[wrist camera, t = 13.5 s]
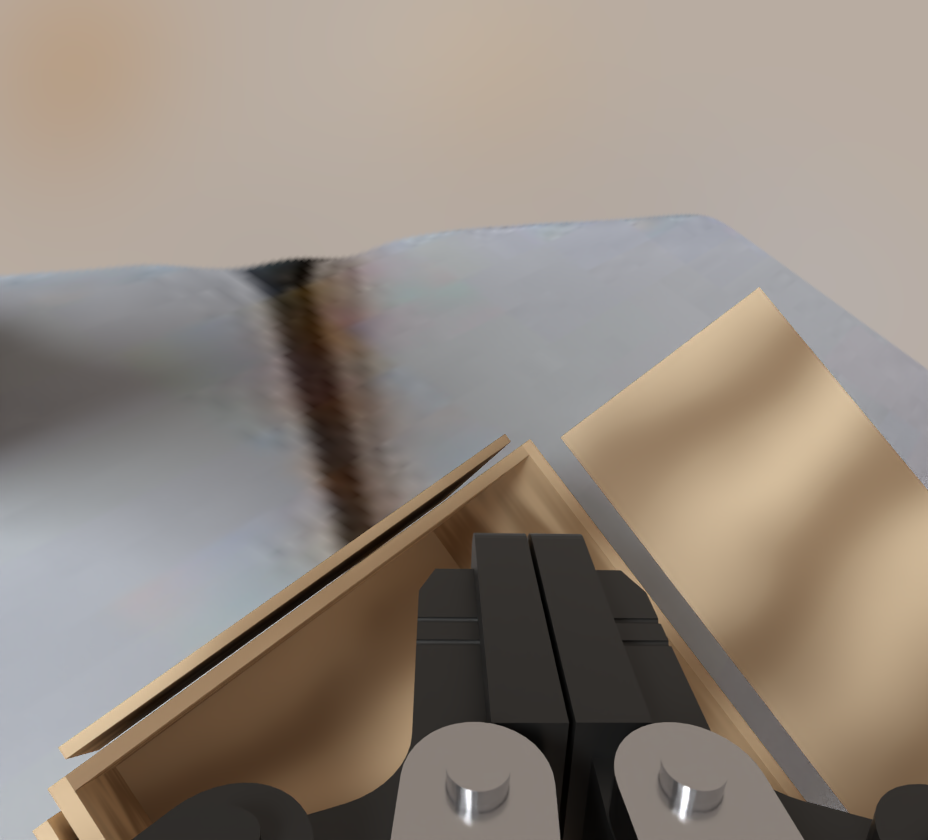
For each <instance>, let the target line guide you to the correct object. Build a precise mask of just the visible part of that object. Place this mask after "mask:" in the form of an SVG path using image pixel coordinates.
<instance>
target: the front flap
mask: <svg viewBox="0 0 928 840" xmlns="http://www.w3.org/2000/svg"><path fill="white" fill-rule="evenodd" d="M561 439H562V440H563V441H564V442H565V444H566V445H567V446H568V448H569V449H570V450H571V452H572V453H573V454H574V456H575V457H576V458H577V459H578V461H579V462H580V463H581V465H582V466H583V467H584V469H585V470H586V471H587V472H588V474H589V475H590V476H591V478H592V479H593V480H594V482H595V483H596V484H597V485H598V487H599V488H600V489H601V491H602V492H603V493H604V495H605V496H606V497H607V498H608V500H609V501H610V502H611V504H612V505H613V506H614V508H615V509H616V510H617V511H618V513H619V514H620V515H621V517H622V518H623V519H624V521H625V522H626V523H627V524H628V526H629V527H630V528H631V530H632V531H633V532H634V534H635V535H636V536H637V537H638V539H639V540H640V541H641V543H642V544H643V545H644V547H645V548H646V549H647V550H648V552H649V553H650V554H651V556H652V557H653V558H654V560H655V561H656V562H657V563H658V565H659V566H660V567H661V569H662V570H663V571H664V573H665V574H666V575H667V577H668V578H669V579H670V580H671V582H672V583H673V584H674V586H675V587H676V588H677V590H678V591H679V592H680V593H681V595H682V596H683V597H684V599H685V600H686V601H687V603H688V604H689V605H690V606H691V608H692V609H693V610H694V612H695V613H696V614H697V616H698V617H699V618H700V619H701V621H702V622H703V623H704V625H705V626H706V627H707V629H708V630H709V631H710V632H711V634H712V635H713V636H714V638H715V639H716V640H717V642H718V643H719V644H720V645H721V647H722V648H723V649H724V651H725V652H726V653H727V655H728V656H729V657H730V658H731V660H732V661H733V662H734V664H735V665H736V666H737V668H738V669H739V670H740V671H741V673H742V674H743V675H744V677H745V678H746V679H747V681H748V682H749V683H750V685H751V686H752V687H753V688H754V690H755V691H756V692H757V694H758V695H759V696H760V698H761V699H762V700H763V701H764V703H765V704H766V705H767V707H768V708H769V709H770V711H771V712H772V713H773V714H774V716H775V717H776V718H777V720H778V721H779V722H780V724H781V725H782V726H783V727H784V729H785V730H786V731H787V733H788V734H789V735H790V737H791V738H792V739H793V740H794V742H795V743H796V744H797V746H798V747H799V748H800V750H801V751H802V752H803V753H804V755H805V756H806V757H807V759H808V760H809V761H810V763H811V764H812V765H813V766H814V768H815V769H816V770H817V772H818V773H819V774H820V776H821V777H822V778H823V779H824V781H825V782H826V783H827V785H828V786H829V787H830V789H831V790H832V791H833V792H834V794H835V795H836V796H837V798H838V799H839V800H840V802H841V803H842V804H843V806H844V807H845V808H846V809H847V811H848V812H849V813H850V814H854V815H858V816H862V817H865V818H869V819H873V816H874V813H875V809H876V806H877V804H878V802H879V800H880V799H881V797H882V796H883V795H884V794H886V793H887V792H888V791H890V790H892V789H894V788H896V787H899V786H903V785H908V784H926V785H928V490H927V489H926V488H925V486H924V485H923V484H922V483H921V482H920V480H919V479H918V478H917V477H916V476H915V474H914V473H913V472H912V471H911V469H910V468H909V467H908V466H907V465H906V463H905V462H904V461H903V460H902V459H901V457H900V456H899V455H898V454H897V453H896V451H895V450H894V449H893V448H892V447H891V445H890V444H889V443H888V442H887V441H886V439H885V438H884V437H883V436H882V435H881V433H880V432H879V431H878V430H877V428H876V427H875V426H874V425H873V424H872V422H871V421H870V420H869V419H868V418H867V416H866V415H865V414H864V413H863V412H862V410H861V409H860V408H859V407H858V406H857V404H856V403H855V402H854V401H853V400H852V398H851V397H850V396H849V395H848V394H847V392H846V391H845V390H844V389H843V387H842V386H841V385H840V384H839V383H838V381H837V380H836V379H835V378H834V377H833V375H832V374H831V373H830V372H829V371H828V369H827V368H826V367H825V366H824V365H823V363H822V362H821V361H820V360H819V359H818V357H817V356H816V355H815V354H814V353H813V351H812V350H811V349H810V348H809V346H808V345H807V344H806V343H805V342H804V340H803V339H802V338H801V337H800V336H799V334H798V333H797V332H796V331H795V330H794V328H793V327H792V326H791V325H790V324H789V322H788V321H787V320H786V319H785V318H784V316H783V315H782V314H781V313H780V312H779V310H778V309H777V308H776V307H775V306H774V304H773V303H772V302H771V301H770V299H769V298H768V297H767V296H766V295H765V293H764V292H763V291H762V290H761V289H760V287H759V288H758V289H756V290H755V291H754V292H752V293H751V294H750V295H748V296H747V297H746V298H744V299H743V300H742V301H740V302H739V303H738V304H736V305H735V306H734V307H732V308H731V309H730V310H728V311H727V312H726V313H724V314H723V315H722V316H721V317H719V318H718V319H717V320H715V321H714V322H713V323H711V324H710V325H709V326H707V327H706V328H705V329H703V330H702V331H701V332H699V333H698V334H697V335H695V336H694V337H693V338H691V339H690V340H689V341H687V342H686V343H685V344H683V345H682V346H681V347H679V348H678V349H677V350H675V351H674V352H673V353H671V354H670V355H669V356H668V357H666V358H665V359H664V360H662V361H661V362H660V363H658V364H657V365H656V366H654V367H653V368H652V369H650V370H649V371H648V372H646V373H645V374H644V375H642V376H641V377H640V378H638V379H637V380H636V381H634V382H633V383H632V384H630V385H629V386H628V387H626V388H625V389H624V390H622V391H621V392H620V393H618V394H617V395H616V396H615V397H613V398H612V399H611V400H609V401H608V402H607V403H605V404H604V405H603V406H601V407H600V408H599V409H597V410H596V411H595V412H593V413H592V414H591V415H589V416H588V417H587V418H585V419H584V420H583V421H581V422H580V423H579V424H577V425H576V426H575V427H573V428H572V429H571V430H569V431H568V432H567V433H565V434H564V435H563V436H562V437H561Z"/></svg>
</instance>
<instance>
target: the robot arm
mask: <svg viewBox="0 0 928 840" xmlns="http://www.w3.org/2000/svg"><path fill="white" fill-rule="evenodd" d="M132 840H928V785H926V784H908V785H903V786H899V787H896V788H894V789H892V790H890V791H888V792H887V793H886V794H884V795H883V796H882V797H881V799H880V800H879V802H878V804H877V806H876V809H875V813H874V816H873V819H869V818H865V817H862V816H858V815H854V814H850V813H847V812H843V811H839V810H835V809H831V808H828V807H824V806H820V805H816V804H813V803H809V802H805V801H802V800H799V799H796V798H793V797H790V796H787V795H785V794H783V793H780V792H778V791H776V790H774V789H773V788H772V786H771V785H770V783H769V782H768V780H767V778H766V777H765V775H764V774H763V772H762V771H761V769H760V768H759V767H758V765H757V764H756V763H755V762H754V761H753V760H752V759H751V757H750V756H749V755H748V754H747V753H745V752H744V751H743V750H742V749H740V748H739V747H738V746H737V745H735V744H734V743H732V742H731V741H729V740H728V739H726V738H724V737H722V736H720V735H718V734H716V733H714V732H712V731H711V730H710V727H709V725H708V723H707V721H706V719H705V717H704V715H703V713H702V710H701V708H700V706H699V704H698V702H697V700H696V698H695V696H694V693H693V691H692V689H691V687H690V685H689V683H688V681H687V678H686V676H685V674H684V672H683V670H682V668H681V666H680V664H679V661H678V659H677V657H676V655H675V653H674V651H673V649H672V646H669V640H668V638H667V636H666V634H665V632H664V629H663V627H662V625H661V624H659V623H658V617H657V615H656V612H655V610H654V608H653V606H652V604H651V602H650V600H649V597H648V595H647V593H646V592H645V591H644V590H643V589H642V588H641V587H639V586H638V585H637V584H636V583H635V582H634V581H632V580H631V579H630V578H629V577H628V576H627V575H626V574H624V573H623V572H622V571H621V570H595V567H594V564H593V562H592V559H591V556H590V554H589V551H588V548H587V546H586V543H585V540H584V538H583V536H582V535H581V534H541V533H529V534H528V536H526V534H525V533H473V538H472V556H471V569H435V570H434V571H433V572H432V574H431V575H430V576H429V578H428V579H427V580H426V582H425V583H424V584H423V586H422V587H421V588H420V590H419V596H418V619H417V639H416V660H415V681H414V702H413V724H412V738H411V744H410V747H409V750H408V753H407V755H406V757H405V759H404V761H403V762H402V764H401V766H400V767H399V768H398V769H397V771H396V772H395V773H394V774H393V775H392V776H391V777H390V778H389V779H388V780H387V781H386V782H385V783H384V784H382V785H381V786H379V787H378V788H377V789H375V790H374V791H372V792H370V793H368V794H366V795H365V796H363V797H361V798H359V799H356V800H353V801H350V802H348V803H345V804H342V805H338V806H335V807H332V808H328V809H325V810H322V811H318V812H315V813H311V814H308V815H307V813H306V812H305V810H304V809H303V808H302V806H301V805H300V804H299V803H298V802H297V801H296V800H295V799H294V798H293V797H292V796H290V795H289V794H287V793H285V792H284V791H282V790H280V789H277V788H275V787H272V786H269V785H264V784H259V783H234V784H227V785H223V786H218V787H214V788H211V789H209V790H206V791H203V792H201V793H198V794H196V795H195V796H193V797H191V798H189V799H187V800H185V801H183V802H182V803H180V804H179V805H177V806H176V807H174V808H173V809H172V810H170V811H169V812H168V813H166V814H165V815H164V816H162V817H161V818H160V819H158V820H157V821H156V822H154V823H153V824H152V825H150V826H149V827H148V828H146V829H145V830H144V831H142V832H141V833H140V834H138V835H137V836H136V837H134V838H133V839H132Z"/></svg>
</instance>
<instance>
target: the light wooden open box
mask: <svg viewBox="0 0 928 840" xmlns="http://www.w3.org/2000/svg"><path fill="white" fill-rule="evenodd" d="M510 442H511V441H510V440H509V438H508V437H507V436H506V434H504V435H503V436H501V437H500V438H498V439H497V440H496V441H494V442H493V443H491V444H490V445H488V446H487V447H486V448H484V449H483V450H481V451H480V452H478V453H477V454H476V455H474V456H473V457H471V458H470V459H469V460H467V461H466V462H464V463H463V464H461V465H460V466H459V467H457V468H456V469H454V470H453V471H451V472H450V473H449V474H447V475H446V476H444V477H443V478H441V479H440V480H439V481H437V482H436V483H434V484H433V485H432V486H430V487H429V488H427V489H426V490H424V491H423V492H422V493H420V494H419V495H417V496H416V497H414V498H413V499H412V500H410V501H409V502H407V503H406V504H404V505H403V506H402V507H400V508H399V509H397V510H396V511H394V512H393V513H392V514H390V515H389V516H387V517H386V518H385V519H383V520H382V521H380V522H379V523H377V524H376V525H375V526H373V527H372V528H370V529H369V530H367V531H366V532H365V533H363V534H362V535H360V536H359V537H357V538H356V539H355V540H353V541H352V542H350V543H349V544H347V545H346V546H345V547H343V548H342V549H340V550H339V551H338V552H336V553H335V554H333V555H332V556H330V557H329V558H328V559H326V560H325V561H323V562H322V563H320V564H319V565H318V566H316V567H315V568H313V569H312V570H310V571H309V572H308V573H306V574H305V575H303V576H302V577H301V578H299V579H298V580H296V581H295V582H293V583H292V584H291V585H289V586H288V587H286V588H285V589H283V590H282V591H281V592H279V593H278V594H276V595H275V596H273V597H272V598H271V599H269V600H268V601H266V602H265V603H263V604H262V605H261V606H259V607H258V608H256V609H255V610H254V611H252V612H251V613H249V614H248V615H246V616H245V617H244V618H242V619H241V620H239V621H238V622H236V623H235V624H234V625H232V626H231V627H229V628H228V629H226V630H225V631H224V632H222V633H221V634H219V635H218V636H216V637H215V638H214V639H212V640H211V641H209V642H208V643H207V644H205V645H204V646H202V647H201V648H199V649H198V650H197V651H195V652H194V653H192V654H191V655H189V656H188V657H187V658H185V659H184V660H182V661H181V662H179V663H178V664H177V665H175V666H174V667H172V668H171V669H169V670H168V671H167V672H165V673H164V674H162V675H161V676H160V677H158V678H157V679H155V680H154V681H152V682H151V683H150V684H148V685H147V686H145V687H144V688H142V689H141V690H140V691H138V692H137V693H135V694H134V695H132V696H131V697H130V698H128V699H127V700H125V701H124V702H123V703H121V704H120V705H118V706H117V707H115V708H114V709H113V710H111V711H110V712H108V713H107V714H105V715H104V716H103V717H101V718H100V719H98V720H97V721H95V722H94V723H93V724H91V725H90V726H88V727H87V728H85V729H84V730H83V731H81V732H80V733H78V734H77V735H76V736H74V737H73V738H71V739H70V740H68V741H67V742H66V743H64V744H63V745H61V746H60V747H58V748H59V750H60V751H61V753H62V754H63V756H64V758H65V759H68V758H72V757H75V756H79V755H82V754H86V753H89V752H93V751H97V750H99V749H101V748H102V747H104V746H105V745H106V744H108V743H109V742H111V741H112V740H113V739H115V738H116V737H117V736H119V735H120V734H122V733H123V732H124V731H126V730H127V729H128V728H130V727H131V726H133V725H134V724H135V723H137V722H138V721H140V720H141V719H142V718H144V717H145V716H146V715H148V714H149V713H151V712H152V711H153V710H155V709H156V708H157V707H159V706H160V705H162V704H163V703H164V702H166V701H167V700H169V699H170V698H171V697H173V696H174V695H175V694H177V693H178V692H180V691H181V690H182V689H184V688H185V687H187V686H188V685H189V684H191V683H192V682H193V681H195V680H196V679H198V678H199V677H200V676H202V675H203V674H204V673H206V672H207V671H209V670H210V669H211V668H213V667H214V666H216V665H217V664H218V663H220V662H221V661H222V660H224V659H225V658H227V657H228V656H229V655H231V654H232V653H234V652H235V651H236V650H238V649H239V648H240V647H242V646H243V645H245V644H246V643H247V642H249V641H250V640H251V639H253V638H254V637H256V636H257V635H258V634H260V633H261V632H263V631H264V630H265V629H267V628H268V627H269V626H271V625H272V624H274V623H275V622H276V621H278V620H279V619H280V618H282V617H283V616H285V615H286V614H287V613H289V612H290V611H292V610H293V609H294V608H296V607H297V606H298V605H300V604H301V603H303V602H304V601H305V600H307V599H308V598H310V597H311V596H312V595H314V594H315V593H316V592H318V591H319V590H321V589H322V588H323V587H325V586H326V585H327V584H329V583H330V582H332V581H333V580H334V579H336V578H337V577H339V576H340V575H341V574H343V573H344V572H345V571H347V570H348V569H350V568H351V567H352V566H354V565H355V564H356V563H358V562H359V561H361V560H362V559H363V558H365V557H366V556H368V555H369V554H370V553H372V552H373V551H374V550H376V549H377V548H379V547H380V546H381V545H383V544H384V543H386V542H387V541H388V540H390V539H391V538H392V537H394V536H395V535H397V534H398V533H399V532H401V531H402V530H403V529H405V528H406V527H408V526H409V525H410V524H412V523H413V522H415V521H416V520H417V519H419V518H420V517H421V516H423V515H424V514H426V513H427V512H428V511H430V510H431V509H432V508H434V507H435V506H437V505H438V504H439V503H441V502H442V501H444V500H445V499H446V498H447V497H448V496H449V495H450V494H452V493H453V492H454V491H455V490H456V489H457V488H458V487H460V486H461V485H462V484H463V483H464V482H465V481H466V480H468V479H469V478H470V477H471V476H472V475H473V474H474V473H476V472H477V471H478V470H479V469H480V468H481V467H482V466H483V465H485V464H486V463H487V462H488V461H489V460H490V459H491V458H493V457H494V456H495V455H496V454H497V453H498V452H499V451H501V450H502V449H503V448H504V447H505V446H506V445H507V444H509V443H510ZM473 533H525V534H526V536H528V534H529V533H541V534H581V535H582V536H583V538H584V540H585V543H586V546H587V548H588V551H589V554H590V556H591V559H592V562H593V564H594V567H595V570H621V571H622V572H623V573H624V574H626V575H627V576H628V577H629V578H630V579H631V580H632V581H634V582H635V583H636V584H637V585H638V586H639V587H641V588H642V589H643V590H644V591H645V592H646V590H645V589H644V588H643V587H642V585H641V584H640V583H639V581H638V580H637V579H636V577H635V576H634V575H633V573H632V572H631V571H630V569H629V568H628V567H627V566H626V564H625V563H624V562H623V560H622V559H621V558H620V556H619V555H618V554H617V552H616V551H615V550H614V549H613V547H612V546H611V545H610V543H609V542H608V541H607V539H606V538H605V537H604V535H603V534H602V533H601V531H600V530H599V529H598V528H597V526H596V525H595V524H594V522H593V521H592V520H591V518H590V517H589V516H588V514H587V513H586V512H585V510H584V509H583V508H582V507H581V505H580V504H579V503H578V501H577V500H576V499H575V497H574V496H573V495H572V493H571V492H570V491H569V489H568V488H567V487H566V486H565V484H564V483H563V482H562V480H561V479H560V478H559V476H558V475H557V474H556V472H555V471H554V470H553V469H552V467H551V466H550V465H549V463H548V462H547V461H546V459H545V458H544V457H543V455H542V454H541V453H540V451H539V450H538V449H537V448H536V446H535V445H534V444H533V442H532V441H531V440H528V441H527V442H526V443H524V444H523V445H521V446H520V447H519V448H517V449H516V450H514V451H513V452H512V453H510V454H509V455H508V456H506V457H505V458H503V459H502V460H501V461H499V462H498V463H497V464H495V465H494V466H492V467H491V468H490V469H488V470H487V471H486V472H484V473H483V474H481V475H480V476H479V477H477V478H476V479H474V480H473V481H472V482H470V483H469V484H468V485H466V486H465V487H463V488H462V489H461V490H459V491H458V492H457V493H455V494H454V495H452V496H451V497H450V498H448V499H447V500H446V501H444V502H443V503H441V504H440V505H439V506H437V507H436V508H434V509H433V510H432V511H430V512H429V513H428V514H426V515H425V516H423V517H422V518H421V519H419V520H418V521H417V522H415V523H414V524H412V525H411V526H410V527H408V528H407V529H406V530H404V531H403V532H401V533H400V534H399V535H397V536H396V537H394V538H393V539H392V540H390V541H389V542H388V543H386V544H385V545H383V546H382V547H381V548H379V549H378V550H377V551H375V552H374V553H372V554H371V555H370V556H368V557H367V558H366V559H364V560H363V561H361V562H360V563H359V564H357V565H356V566H354V567H353V568H352V569H350V570H349V571H348V572H346V573H345V574H343V575H342V576H341V577H339V578H338V579H337V580H335V581H334V582H332V583H331V584H330V585H328V586H327V587H326V588H324V589H323V590H321V591H320V592H319V593H317V594H316V595H314V596H313V597H312V598H310V599H309V600H308V601H306V602H305V603H303V604H302V605H301V606H299V607H298V608H297V609H295V610H294V611H292V612H291V613H290V614H288V615H287V616H285V617H284V618H283V619H281V620H280V621H279V622H277V623H276V624H274V625H273V626H272V627H270V628H269V629H268V630H266V631H265V632H263V633H262V634H261V635H259V636H258V637H257V638H255V639H254V640H252V641H251V642H250V643H248V644H247V645H245V646H244V647H243V648H241V649H240V650H239V651H237V652H236V653H234V654H233V655H232V656H230V657H229V658H228V659H226V660H225V661H223V662H222V663H221V664H219V665H218V666H217V667H215V668H214V669H212V670H211V671H210V672H208V673H207V674H205V675H204V676H203V677H201V678H200V679H199V680H197V681H196V682H194V683H193V684H192V685H190V686H189V687H188V688H186V689H185V690H183V691H182V692H181V693H179V694H178V695H177V696H175V697H174V698H172V699H171V700H170V701H168V702H167V703H165V704H164V705H163V706H161V707H160V708H159V709H157V710H156V711H154V712H153V713H152V714H150V715H149V716H148V717H146V718H145V719H143V720H142V721H141V722H139V723H138V724H137V725H135V726H134V727H132V728H131V729H130V730H128V731H127V732H125V733H124V734H123V735H121V736H120V737H119V738H117V739H116V740H114V741H113V742H112V743H110V744H109V745H108V746H106V747H105V748H103V749H102V750H101V751H99V752H98V753H97V754H95V755H94V756H92V757H91V758H90V759H88V760H87V761H85V762H84V763H83V764H81V765H80V766H79V767H77V768H76V769H74V770H73V771H72V772H70V773H69V774H68V775H66V776H65V777H63V778H62V779H61V780H59V781H58V782H57V783H55V784H54V785H52V786H51V787H50V788H48V791H49V792H50V794H51V795H52V797H53V799H54V800H55V802H56V803H57V805H58V807H59V808H60V810H61V811H60V812H59V813H57V814H56V815H54V816H53V817H51V818H50V819H48V820H47V821H46V822H44V823H43V824H41V825H40V826H39V827H37V828H36V829H35V830H33V833H34V834H35V836H36V838H37V839H38V840H132V839H133V838H134V837H136V836H137V835H138V834H140V833H141V832H142V831H144V830H145V829H146V828H148V827H149V826H150V825H152V824H153V823H154V822H156V821H157V820H158V819H160V818H161V817H162V816H164V815H165V814H166V813H168V812H169V811H170V810H172V809H173V808H174V807H176V806H177V805H179V804H180V803H182V802H183V801H185V800H187V799H189V798H191V797H193V796H195V795H196V794H198V793H201V792H203V791H206V790H209V789H211V788H214V787H218V786H223V785H227V784H234V783H259V784H264V785H269V786H272V787H275V788H277V789H280V790H282V791H284V792H285V793H287V794H289V795H290V796H292V797H293V798H294V799H295V800H296V801H297V802H298V803H299V804H300V805H301V806H302V808H303V809H304V810H305V812H306V813H307V815H308V814H311V813H315V812H318V811H322V810H325V809H328V808H332V807H335V806H338V805H342V804H345V803H348V802H350V801H353V800H356V799H359V798H361V797H363V796H365V795H366V794H368V793H370V792H372V791H374V790H375V789H377V788H378V787H379V786H381V785H382V784H384V783H385V782H386V781H387V780H388V779H389V778H390V777H391V776H392V775H393V774H394V773H395V772H396V771H397V769H398V768H399V767H400V766H401V764H402V762H403V761H404V759H405V757H406V755H407V753H408V750H409V747H410V744H411V738H412V724H413V702H414V681H415V660H416V639H417V619H418V596H419V590H420V588H421V587H422V586H423V584H424V583H425V582H426V580H427V579H428V578H429V576H430V575H431V574H432V572H433V571H434V570H435V569H471V556H472V538H473ZM646 593H647V592H646ZM647 595H648V597H649V600H650V602H651V604H652V606H653V608H654V610H655V612H656V615H657V617H658V623H659V624H661V625H662V627H663V629H664V632H665V634H666V636H667V638H668V640H669V646H672V649H673V651H674V653H675V655H676V657H677V659H678V661H679V664H680V666H681V668H682V670H683V672H684V674H685V676H686V678H687V681H688V683H689V685H690V687H691V689H692V691H693V693H694V696H695V698H696V700H697V702H698V704H699V706H700V708H701V710H702V713H703V715H704V717H705V719H706V721H707V723H708V725H709V727H710V730H711V731H712V732H714V733H716V734H718V735H720V736H722V737H724V738H726V739H728V740H729V741H731V742H732V743H734V744H735V745H737V746H738V747H739V748H740V749H742V750H743V751H744V752H745V753H747V754H748V755H749V756H750V757H751V759H752V760H753V761H754V762H755V763H756V764H757V765H758V767H759V768H760V769H761V771H762V772H763V774H764V775H765V777H766V778H767V780H768V782H769V783H770V785H771V786H772V788H773V789H774V790H776V791H778V792H780V793H783V794H785V795H787V796H790V797H793V798H796V799H799V800H802V801H805V802H806V800H805V799H804V798H803V796H802V795H801V794H800V792H799V791H798V790H797V788H796V787H795V786H794V785H793V783H792V782H791V781H790V779H789V778H788V777H787V775H786V774H785V773H784V771H783V770H782V769H781V768H780V766H779V765H778V764H777V762H776V761H775V760H774V758H773V757H772V756H771V754H770V753H769V752H768V750H767V749H766V748H765V747H764V745H763V744H762V743H761V741H760V740H759V739H758V737H757V736H756V735H755V733H754V732H753V731H752V729H751V728H750V727H749V726H748V724H747V723H746V722H745V720H744V719H743V718H742V716H741V715H740V714H739V712H738V711H737V710H736V708H735V707H734V706H733V705H732V703H731V702H730V701H729V699H728V698H727V697H726V695H725V694H724V693H723V691H722V690H721V689H720V688H719V686H718V685H717V684H716V682H715V681H714V680H713V678H712V677H711V676H710V674H709V673H708V672H707V670H706V669H705V668H704V667H703V665H702V664H701V663H700V661H699V660H698V659H697V657H696V656H695V655H694V653H693V652H692V651H691V649H690V648H689V647H688V646H687V644H686V643H685V642H684V640H683V639H682V638H681V636H680V635H679V634H678V632H677V631H676V630H675V629H674V627H673V626H672V625H671V623H670V622H669V621H668V619H667V618H666V617H665V615H664V614H663V613H662V611H661V610H660V609H659V608H658V606H657V605H656V604H655V602H654V601H653V600H652V598H651V597H650V596H649V594H648V593H647Z"/></svg>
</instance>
